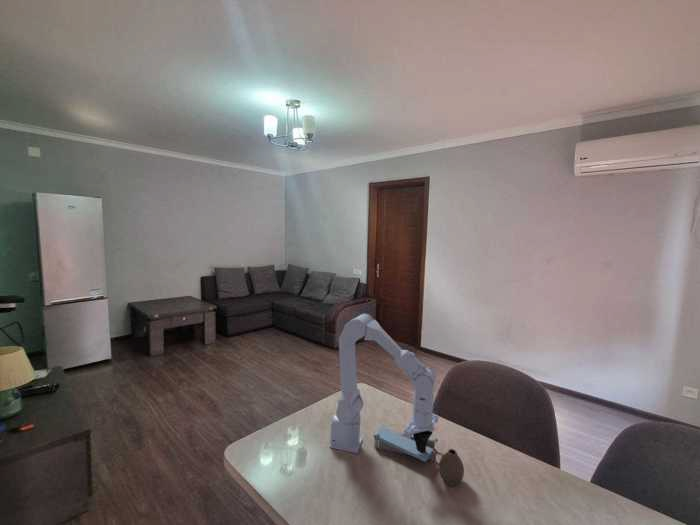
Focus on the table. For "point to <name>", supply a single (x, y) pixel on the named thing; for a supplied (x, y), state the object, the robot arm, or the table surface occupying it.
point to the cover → (402, 443)
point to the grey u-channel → (387, 447)
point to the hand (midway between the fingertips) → (420, 451)
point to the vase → (451, 468)
